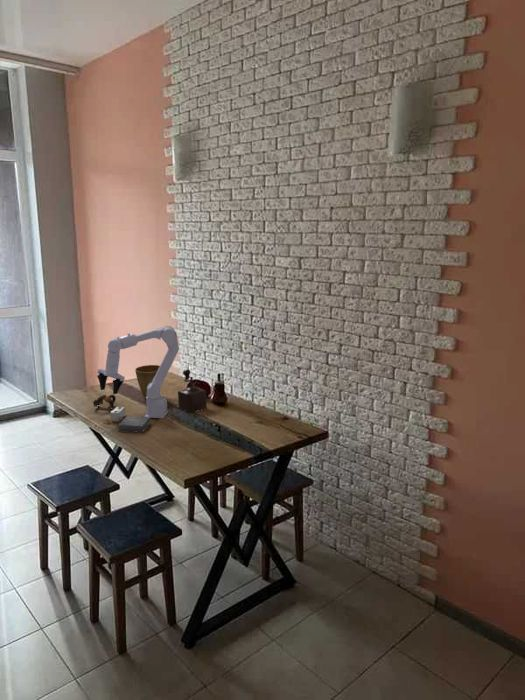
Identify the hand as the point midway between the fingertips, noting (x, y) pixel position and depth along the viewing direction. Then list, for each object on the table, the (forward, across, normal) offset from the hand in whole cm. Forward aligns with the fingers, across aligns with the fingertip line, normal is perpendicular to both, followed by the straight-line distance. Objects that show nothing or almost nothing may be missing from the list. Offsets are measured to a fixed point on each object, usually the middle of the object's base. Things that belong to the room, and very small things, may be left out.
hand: (108, 391), depth 255 cm
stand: (+11, +20, -4) cm, 23 cm away
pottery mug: (+14, -10, +12) cm, 20 cm away
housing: (+12, +6, +2) cm, 14 cm away
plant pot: (+10, -1, +36) cm, 37 cm away
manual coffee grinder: (+6, +27, +31) cm, 41 cm away
